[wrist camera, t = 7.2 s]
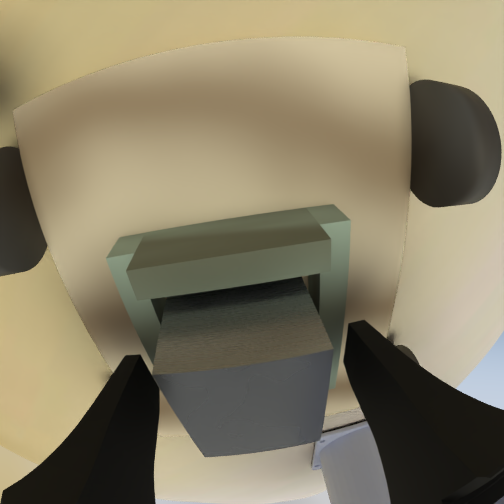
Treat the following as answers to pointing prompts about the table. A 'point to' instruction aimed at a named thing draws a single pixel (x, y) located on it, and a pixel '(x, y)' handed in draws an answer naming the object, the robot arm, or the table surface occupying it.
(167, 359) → the block
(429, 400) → the robot arm
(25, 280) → the table surface
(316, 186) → the chassis
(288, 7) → the table surface
